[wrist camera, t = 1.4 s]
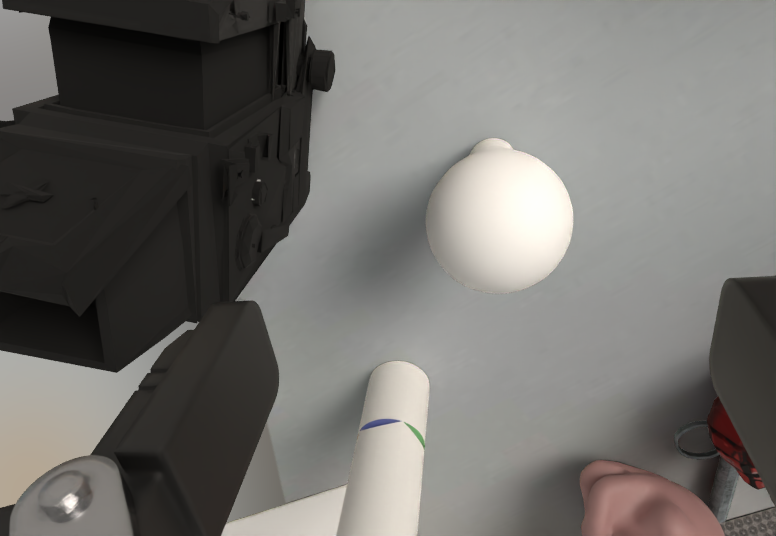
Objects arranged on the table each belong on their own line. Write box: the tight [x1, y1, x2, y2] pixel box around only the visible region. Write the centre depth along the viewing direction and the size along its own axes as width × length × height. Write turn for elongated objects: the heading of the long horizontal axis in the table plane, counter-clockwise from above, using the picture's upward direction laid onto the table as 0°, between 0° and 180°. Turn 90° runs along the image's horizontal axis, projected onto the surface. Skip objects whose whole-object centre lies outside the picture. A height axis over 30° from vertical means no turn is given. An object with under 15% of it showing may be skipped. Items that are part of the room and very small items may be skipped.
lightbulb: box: [426, 138, 573, 294], centre depth 26 cm, size 6×6×11 cm
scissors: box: [674, 421, 739, 523], centre depth 39 cm, size 8×18×2 cm, turn 7°
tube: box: [336, 361, 430, 536], centre depth 34 cm, size 4×4×15 cm
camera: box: [0, 0, 335, 373], centre depth 22 cm, size 10×14×20 cm
